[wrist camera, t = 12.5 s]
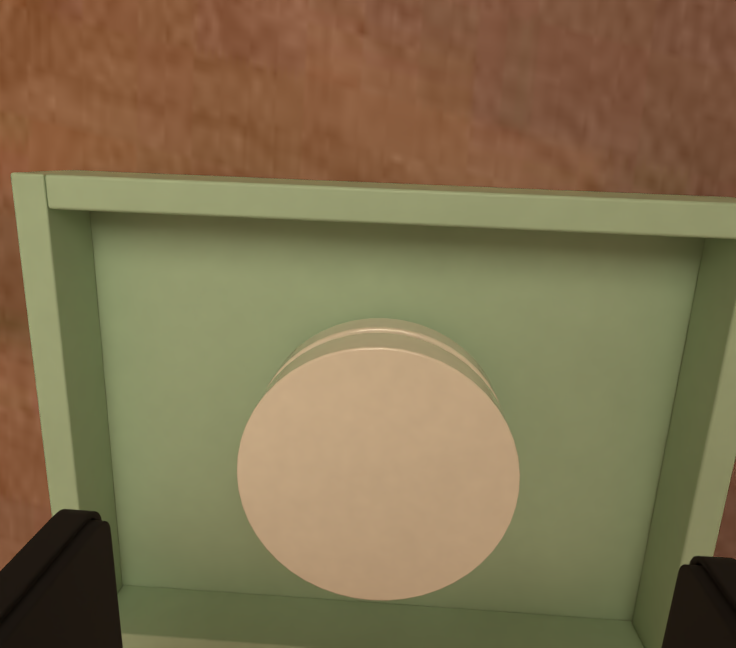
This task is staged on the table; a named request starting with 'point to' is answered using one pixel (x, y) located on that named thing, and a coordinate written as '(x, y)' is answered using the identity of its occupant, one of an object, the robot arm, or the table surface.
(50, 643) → the robot arm
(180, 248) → the tray
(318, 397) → the beige round container
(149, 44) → the table surface
